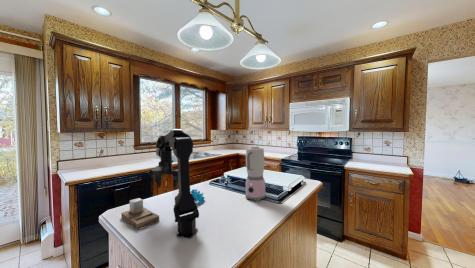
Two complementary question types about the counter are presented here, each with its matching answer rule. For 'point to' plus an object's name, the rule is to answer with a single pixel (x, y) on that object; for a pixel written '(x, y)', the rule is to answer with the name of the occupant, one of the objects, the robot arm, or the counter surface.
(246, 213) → the counter surface
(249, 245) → the counter surface
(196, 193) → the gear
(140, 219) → the socket block
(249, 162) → the blender
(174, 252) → the counter surface
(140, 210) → the square bit
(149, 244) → the counter surface
